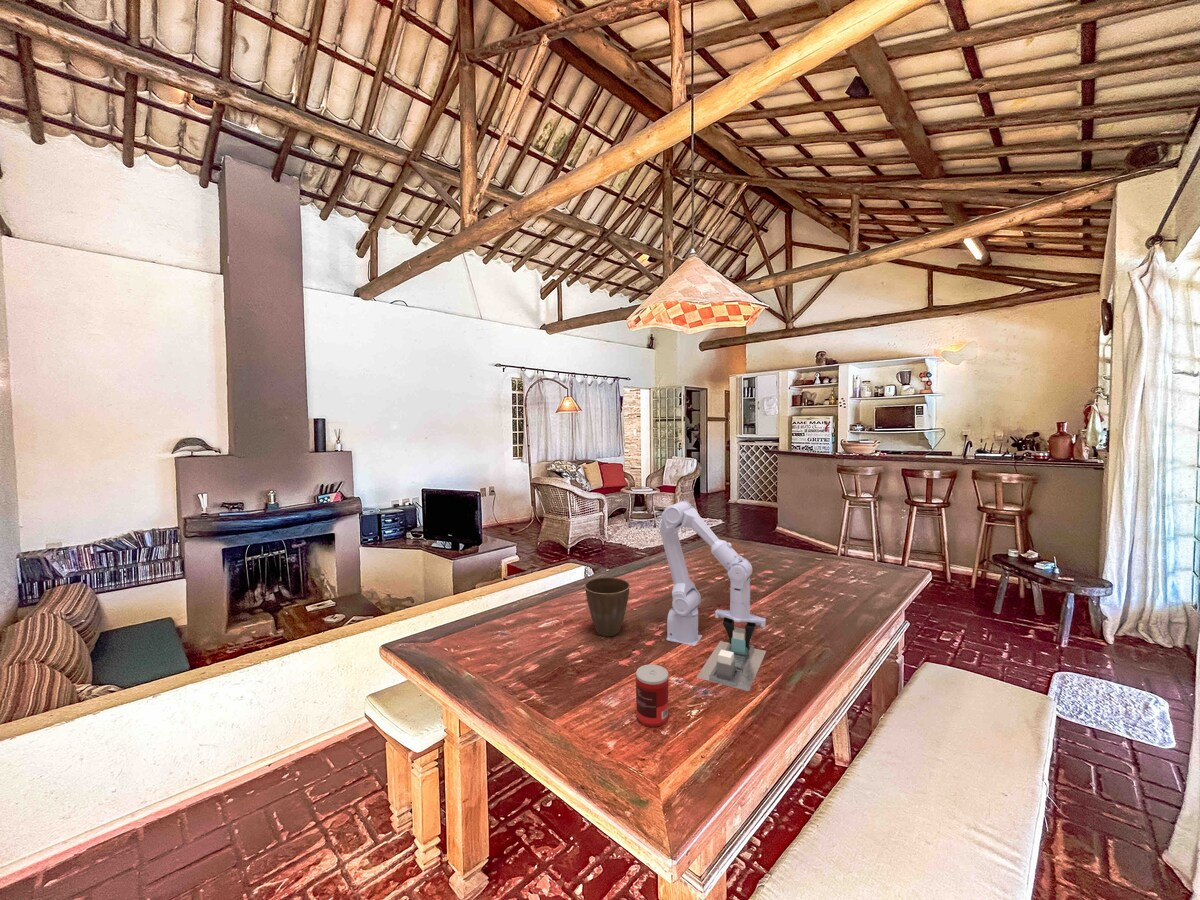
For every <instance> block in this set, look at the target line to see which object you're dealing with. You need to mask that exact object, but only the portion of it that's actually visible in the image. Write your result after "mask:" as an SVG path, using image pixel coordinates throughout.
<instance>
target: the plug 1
mask: <svg viewBox="0 0 1200 900" xmlns="http://www.w3.org/2000/svg"><path fill="white" fill-rule="evenodd" d="M734 676H735V659H734V652H730V651H726V650H721V651H720V653H719V654H718V661H717V677H721V678H725V679H729V680H733V678H734Z"/></svg>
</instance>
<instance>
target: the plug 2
mask: <svg viewBox="0 0 1200 900" xmlns="http://www.w3.org/2000/svg"><path fill="white" fill-rule="evenodd" d="M731 651H734V652H739V653H743V654H746V653H747V651H748V648H746V630H745V628H742V627H735V626H734V630H733V637H732V638H731Z"/></svg>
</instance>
